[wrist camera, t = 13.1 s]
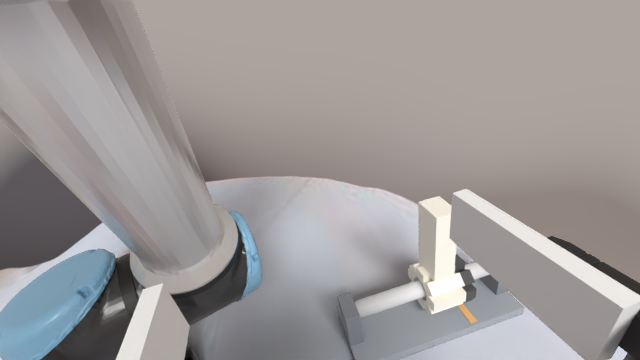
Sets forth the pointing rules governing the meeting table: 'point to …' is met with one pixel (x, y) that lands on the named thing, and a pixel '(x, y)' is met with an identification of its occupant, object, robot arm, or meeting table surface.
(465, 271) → the ring
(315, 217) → the meeting table surface
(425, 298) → the sleeve
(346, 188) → the meeting table surface
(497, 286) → the pipe stand
